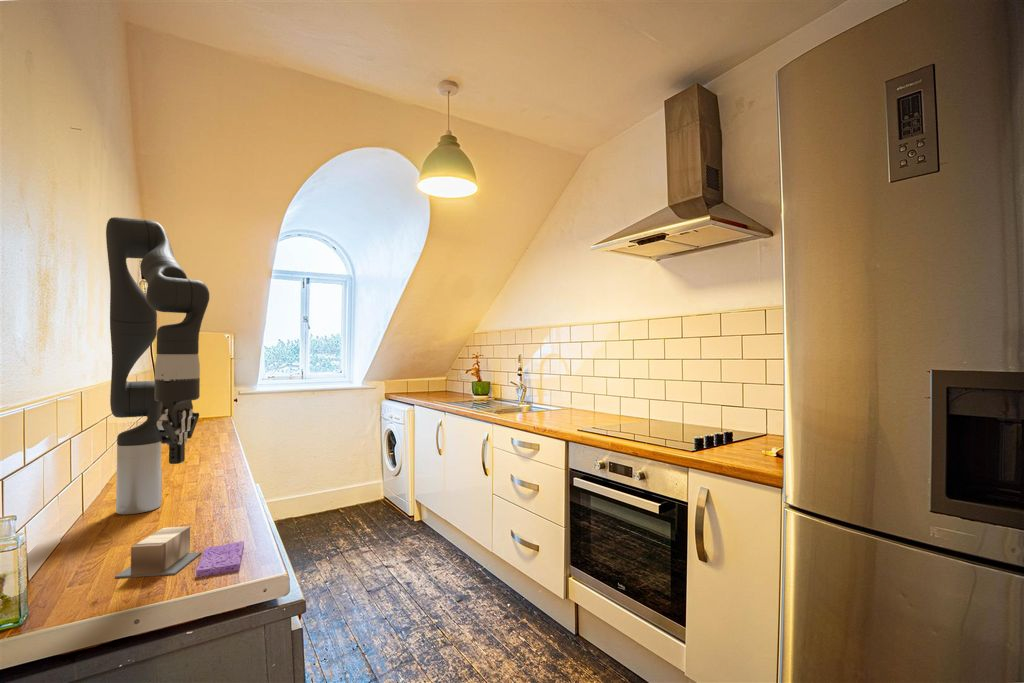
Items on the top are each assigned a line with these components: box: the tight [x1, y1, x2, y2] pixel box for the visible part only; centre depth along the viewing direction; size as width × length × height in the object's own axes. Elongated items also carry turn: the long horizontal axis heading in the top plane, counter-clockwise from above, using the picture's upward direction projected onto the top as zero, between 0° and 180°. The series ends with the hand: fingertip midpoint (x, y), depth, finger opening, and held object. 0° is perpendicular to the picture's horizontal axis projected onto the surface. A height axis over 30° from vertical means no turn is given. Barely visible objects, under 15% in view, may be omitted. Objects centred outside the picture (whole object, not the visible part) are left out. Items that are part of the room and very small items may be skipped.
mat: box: [114, 551, 203, 579], centre depth 93 cm, size 10×10×1 cm
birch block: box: [130, 526, 191, 575], centre depth 93 cm, size 5×5×10 cm
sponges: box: [195, 540, 245, 579], centre depth 95 cm, size 7×13×2 cm, turn 26°
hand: (176, 462), depth 98 cm, fingers closed
